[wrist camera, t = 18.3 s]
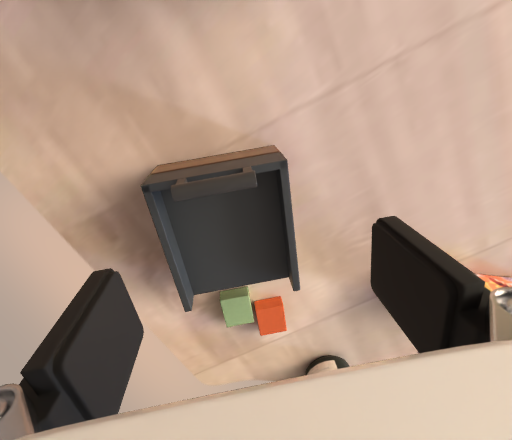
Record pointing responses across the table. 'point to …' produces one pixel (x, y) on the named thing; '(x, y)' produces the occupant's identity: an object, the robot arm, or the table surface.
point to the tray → (225, 224)
